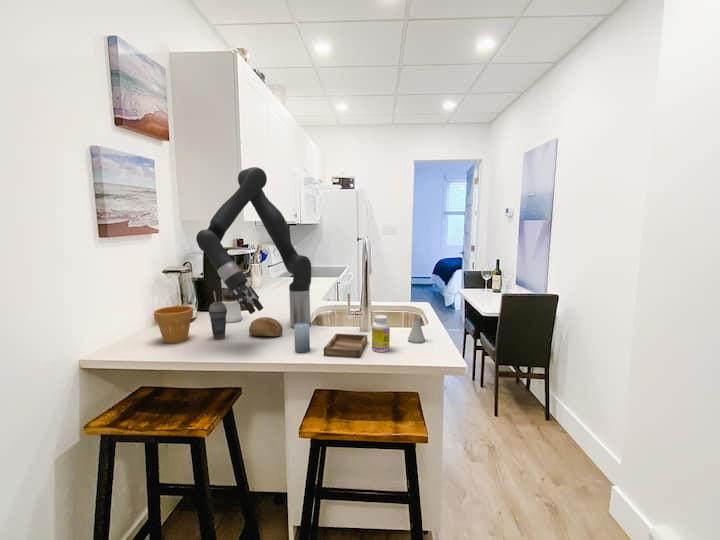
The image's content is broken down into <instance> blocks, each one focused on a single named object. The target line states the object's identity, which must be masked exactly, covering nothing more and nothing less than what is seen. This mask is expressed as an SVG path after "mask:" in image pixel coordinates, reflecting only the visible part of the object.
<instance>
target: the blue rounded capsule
mask: <svg viewBox="0 0 720 540" xmlns="http://www.w3.org/2000/svg"><path fill="white" fill-rule="evenodd" d="M293 329H294V330H293V331H294V332H293V333H294V337H293V338H294V352H295V354H306V353H308V352H309V353H310V351H311V345H310V344H311V341H310V340H311V338H310V337H311V336H310V327H309V324H308V323H297V324H295V325H294V328H293Z"/></svg>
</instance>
